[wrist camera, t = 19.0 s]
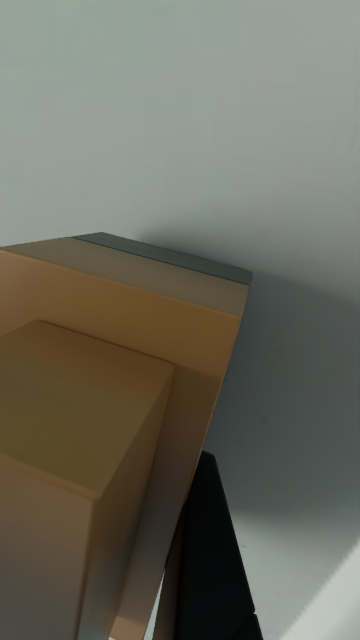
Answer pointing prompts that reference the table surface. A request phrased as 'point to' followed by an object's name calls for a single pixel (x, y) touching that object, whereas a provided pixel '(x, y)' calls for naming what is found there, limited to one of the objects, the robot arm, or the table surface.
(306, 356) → the table surface
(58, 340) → the brush
